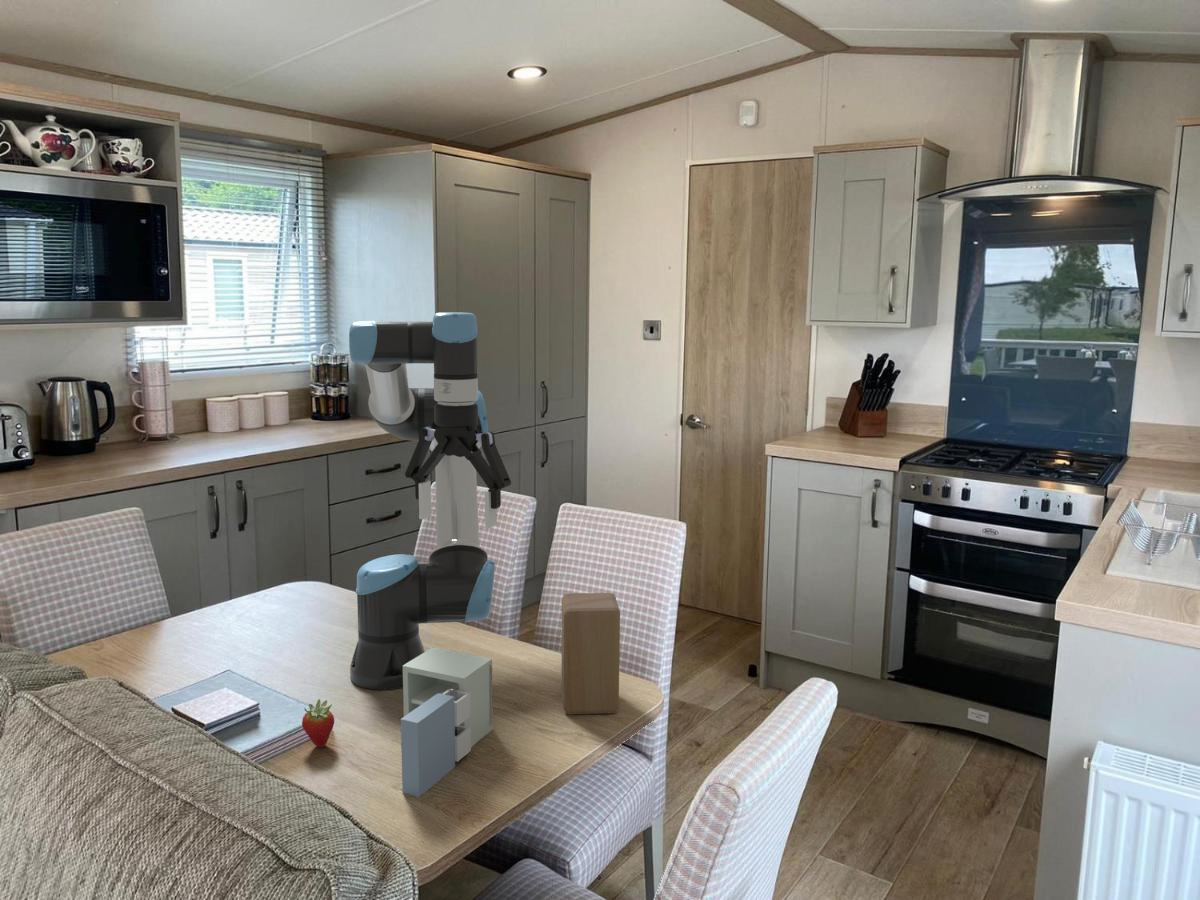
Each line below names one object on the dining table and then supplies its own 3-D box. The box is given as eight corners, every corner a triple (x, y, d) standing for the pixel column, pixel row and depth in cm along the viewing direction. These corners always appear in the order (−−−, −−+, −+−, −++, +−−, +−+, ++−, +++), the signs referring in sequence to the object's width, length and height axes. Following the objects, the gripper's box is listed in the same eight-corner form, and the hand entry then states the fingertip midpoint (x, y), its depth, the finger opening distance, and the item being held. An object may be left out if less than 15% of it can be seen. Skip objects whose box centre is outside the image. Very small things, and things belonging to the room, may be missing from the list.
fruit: (305, 756, 152) (303, 710, 151) (301, 742, 157) (299, 697, 156) (337, 750, 154) (335, 705, 153) (332, 736, 159) (331, 692, 158)
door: (399, 792, 142) (397, 718, 140) (450, 751, 155) (449, 682, 153) (421, 798, 141) (420, 723, 139) (470, 756, 153) (470, 687, 151)
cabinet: (404, 737, 159) (402, 665, 157) (434, 716, 167) (432, 647, 165) (464, 752, 154) (464, 678, 152) (492, 729, 162) (492, 658, 160)
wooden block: (561, 692, 177) (561, 591, 174) (613, 691, 178) (615, 591, 175) (563, 716, 168) (564, 610, 164) (619, 715, 168) (620, 609, 165)
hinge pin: (445, 760, 152) (444, 690, 150) (457, 750, 155) (456, 682, 153) (456, 762, 151) (454, 692, 149) (467, 753, 154) (466, 684, 152)
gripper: (383, 400, 163) (386, 518, 167) (508, 409, 153) (509, 535, 157) (408, 396, 170) (411, 509, 174) (530, 404, 160) (530, 525, 164)
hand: (457, 522), depth 165 cm, fingers open, 13 cm apart
